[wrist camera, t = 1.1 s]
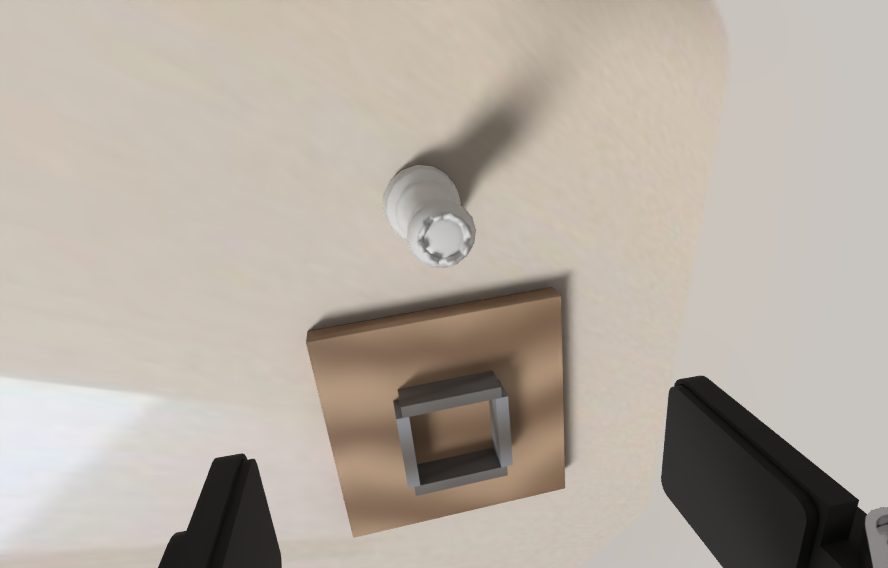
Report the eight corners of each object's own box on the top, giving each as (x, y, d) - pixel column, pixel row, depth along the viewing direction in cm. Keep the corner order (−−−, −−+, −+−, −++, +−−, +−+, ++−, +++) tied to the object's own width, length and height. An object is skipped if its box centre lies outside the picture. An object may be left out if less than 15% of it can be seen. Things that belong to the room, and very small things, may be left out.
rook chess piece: (387, 243, 31) (402, 294, 24) (376, 168, 29) (389, 198, 22) (460, 232, 32) (496, 279, 24) (453, 158, 30) (490, 184, 23)
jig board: (307, 331, 32) (304, 359, 29) (552, 287, 34) (574, 309, 31) (352, 521, 38) (354, 561, 35) (557, 474, 40) (576, 508, 37)
